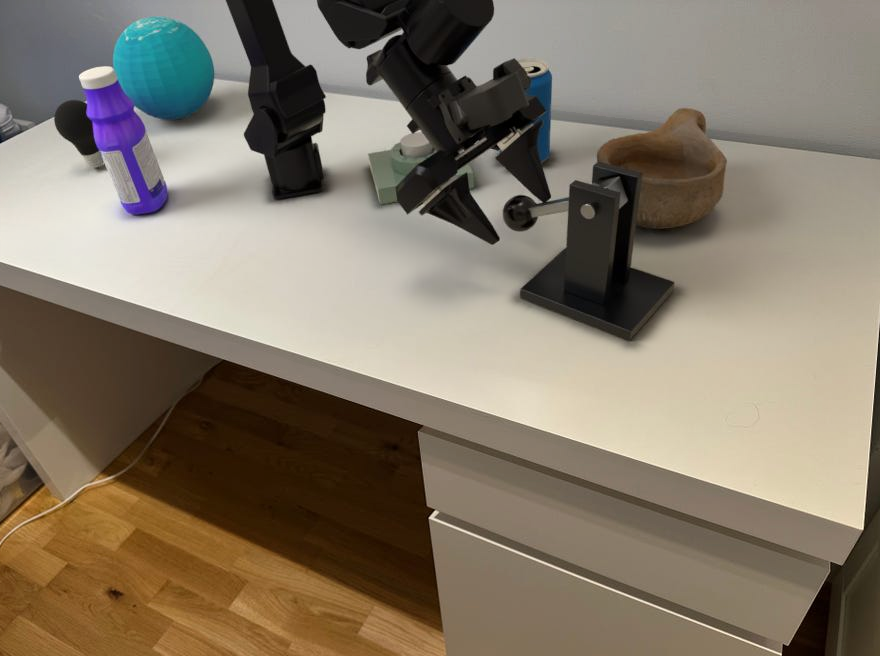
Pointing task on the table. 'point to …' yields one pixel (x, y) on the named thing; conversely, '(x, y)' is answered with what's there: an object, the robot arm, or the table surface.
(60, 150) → the table surface
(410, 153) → the flush button
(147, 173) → the bottle
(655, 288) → the lever bracket
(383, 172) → the button block
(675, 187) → the bowl
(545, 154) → the beverage can
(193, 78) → the decorative orb
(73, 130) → the light bulb
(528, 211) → the ball knob lever
